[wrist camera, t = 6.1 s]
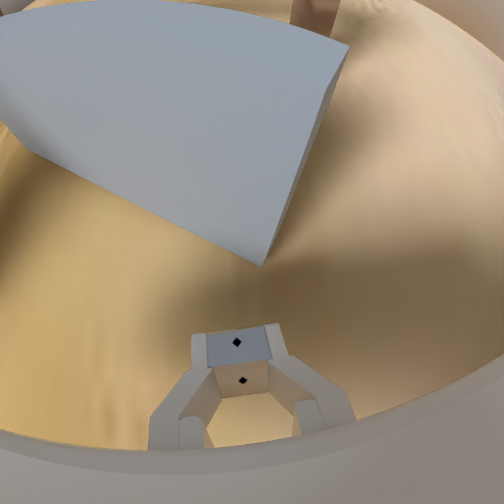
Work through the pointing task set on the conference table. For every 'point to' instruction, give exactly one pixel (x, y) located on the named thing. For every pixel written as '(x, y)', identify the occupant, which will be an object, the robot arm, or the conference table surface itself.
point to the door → (172, 107)
